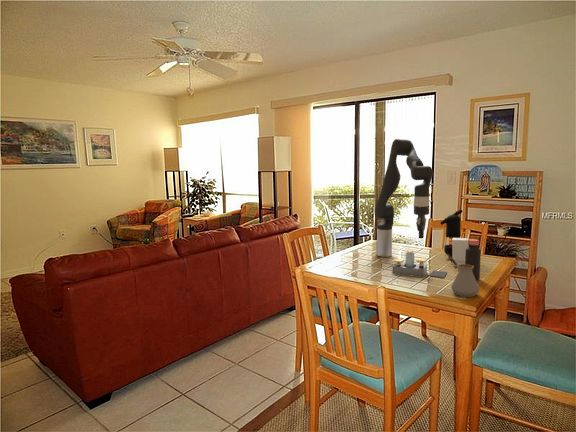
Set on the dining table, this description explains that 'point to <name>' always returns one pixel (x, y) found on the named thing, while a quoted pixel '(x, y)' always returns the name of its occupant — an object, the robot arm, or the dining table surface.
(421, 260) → the plunger
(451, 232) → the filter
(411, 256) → the cartridge
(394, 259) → the plunger
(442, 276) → the mat
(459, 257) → the skincare box
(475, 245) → the bottle
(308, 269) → the dining table surface
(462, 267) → the coffee pot
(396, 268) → the housing
